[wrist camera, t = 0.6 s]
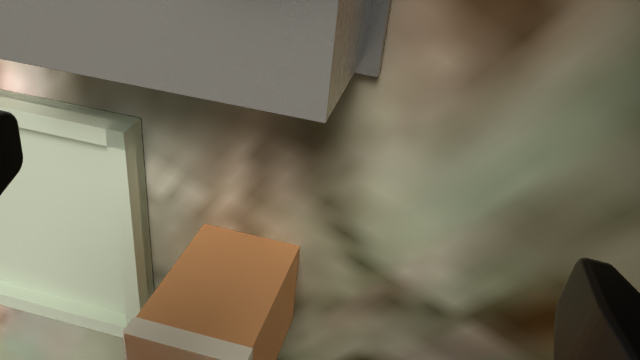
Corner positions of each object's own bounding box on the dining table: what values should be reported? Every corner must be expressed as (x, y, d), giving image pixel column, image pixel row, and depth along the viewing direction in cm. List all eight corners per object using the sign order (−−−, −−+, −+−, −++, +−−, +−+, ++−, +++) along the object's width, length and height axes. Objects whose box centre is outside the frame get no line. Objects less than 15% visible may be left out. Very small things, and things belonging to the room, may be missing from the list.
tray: (156, 324, 31) (143, 343, 30) (-27, 275, 33) (-46, 291, 32) (140, 118, 25) (123, 132, 24) (-85, 71, 27) (-112, 83, 26)
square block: (293, 320, 29) (242, 447, 23) (204, 297, 29) (132, 414, 24) (300, 245, 26) (245, 365, 20) (203, 222, 27) (122, 331, 21)
